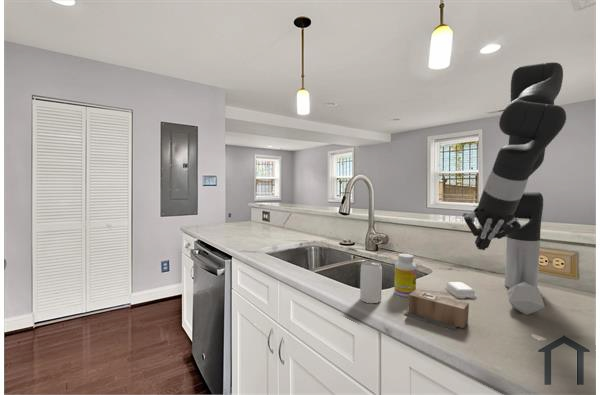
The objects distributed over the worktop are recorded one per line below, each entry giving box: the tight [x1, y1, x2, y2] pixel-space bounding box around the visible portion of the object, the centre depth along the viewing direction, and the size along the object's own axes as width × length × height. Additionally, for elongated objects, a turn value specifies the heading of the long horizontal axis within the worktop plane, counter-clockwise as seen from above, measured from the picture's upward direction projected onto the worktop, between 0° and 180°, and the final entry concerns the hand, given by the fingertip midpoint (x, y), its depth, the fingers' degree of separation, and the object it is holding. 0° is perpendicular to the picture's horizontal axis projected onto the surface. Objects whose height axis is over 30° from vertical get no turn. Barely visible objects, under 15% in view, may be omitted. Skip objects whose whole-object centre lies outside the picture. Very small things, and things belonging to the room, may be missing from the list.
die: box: [506, 282, 546, 316], centre depth 88 cm, size 8×9×10 cm
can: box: [359, 259, 383, 304], centre depth 96 cm, size 6×6×12 cm
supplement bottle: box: [393, 253, 417, 298], centre depth 101 cm, size 7×7×13 cm
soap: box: [444, 281, 477, 299], centre depth 102 cm, size 9×7×3 cm
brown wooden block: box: [407, 289, 470, 329], centre depth 84 cm, size 5×5×14 cm
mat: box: [403, 310, 458, 331], centre depth 86 cm, size 11×13×1 cm
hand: (480, 247), depth 80 cm, fingers closed
